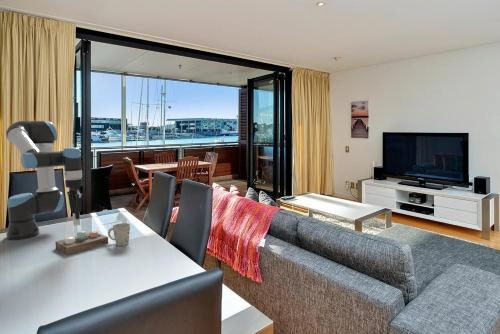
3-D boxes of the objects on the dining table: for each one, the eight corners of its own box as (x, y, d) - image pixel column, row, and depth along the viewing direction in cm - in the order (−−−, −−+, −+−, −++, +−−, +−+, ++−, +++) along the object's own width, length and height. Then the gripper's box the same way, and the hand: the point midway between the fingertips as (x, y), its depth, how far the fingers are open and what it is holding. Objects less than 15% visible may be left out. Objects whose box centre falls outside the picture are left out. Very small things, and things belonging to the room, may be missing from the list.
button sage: (75, 239, 164) (75, 232, 164) (84, 237, 167) (84, 230, 167) (79, 241, 161) (79, 233, 161) (88, 239, 165) (88, 231, 164)
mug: (124, 247, 162) (123, 228, 161) (102, 245, 165) (101, 226, 164) (134, 241, 170) (133, 223, 169) (112, 240, 173) (111, 222, 172)
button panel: (55, 248, 161) (55, 241, 161) (95, 237, 177) (95, 231, 176) (67, 254, 153) (67, 247, 152) (108, 243, 168) (107, 236, 168)
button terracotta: (87, 239, 169) (87, 232, 168) (96, 237, 172) (95, 230, 172) (91, 241, 166) (91, 234, 166) (100, 239, 170) (99, 231, 169)
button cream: (63, 246, 160) (62, 238, 159) (72, 243, 163) (72, 236, 163) (67, 248, 157) (66, 240, 156) (76, 245, 160) (76, 237, 160)
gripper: (60, 178, 160) (63, 224, 163) (71, 181, 152) (74, 229, 155) (76, 176, 166) (79, 221, 169) (87, 179, 158) (90, 225, 160)
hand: (76, 225), depth 162 cm, fingers closed
